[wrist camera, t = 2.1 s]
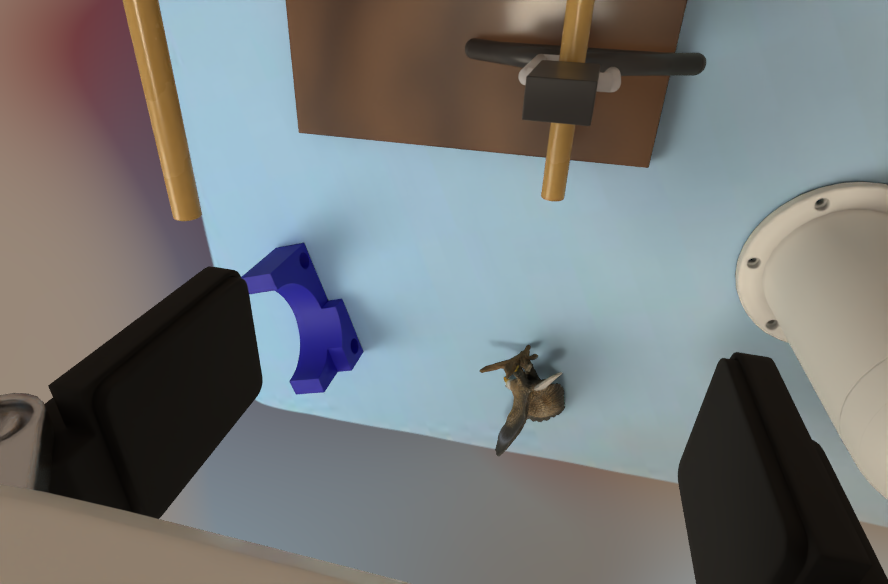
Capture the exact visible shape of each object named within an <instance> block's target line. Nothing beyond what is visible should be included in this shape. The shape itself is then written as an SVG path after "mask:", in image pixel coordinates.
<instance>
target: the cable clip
mask: <svg viewBox="0 0 888 584" xmlns="http://www.w3.org/2000/svg"><path fill="white" fill-rule="evenodd" d="M241 278H242V279H244V280H245V281H246V282H247V286H248V291H249V294H254V293H260V292H267V291H276V292H278V293H279V294H280V295H281V296H283V297H284V298H285V300H286V301H287V302H288V304H289V305H290V307H291V309H292V310H293V313H294V315H295V317H296V320H297V324H298V328H299V334H300V355H299V361H298V364H297V368H296V370H295V373H294V375H293V376H292V378H291V380H290V383H291V385H292V387H293V389H294V392H295V394H307V393H320V392H325V390H326V389H327V387H328V386H329V384H330V383H331V381H332V380H333V378H334V377H335V375H336V374H337V372H340V371H351V370H352V369H353V368H354V366H355V364H356V363H357V361H358V360H359V358H360V356H361V355H362V353H363V350H362V347H361V345H360V342H359V340H358V337H357V335H356V332H355V330H354V327H353V325H352V322H351V320H350V317H349V315H348V312H347V310H346V307H345V305H344V302H343V300H342V299H337V300H330V301H328V299H327V297H326V295H325V292H324V290H323V287H322V285H321V282H320V280H319V278H318V275H317V273H316V270H315V268H314V266H313V263H312V261H311V258H310V256H309V254H308V251H307V249H306V246H305V244H304V243H301V244H295V245H290V246H284V247H279V248H275V249H274V250H273V251H272V252H271V253H269V254H268V255H267V256H266V257H265V258H263V259H262V260H261V261H260V262H259V263H258V264H256V265H255V266H254V267H253V268H252V269H250V270H249V271H248V272H247V273H246V274H244V275H243V276H242V277H241Z"/></svg>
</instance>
